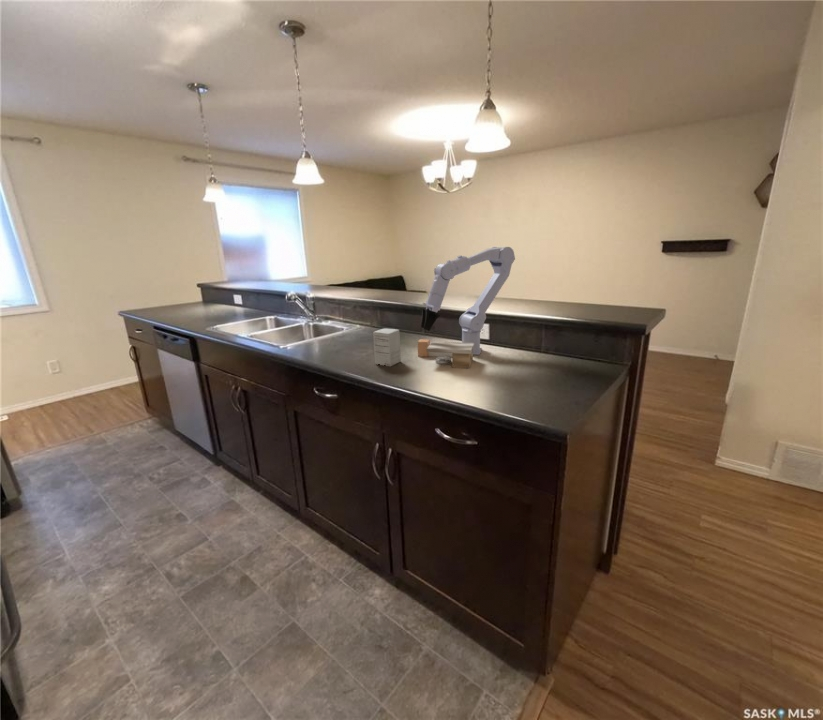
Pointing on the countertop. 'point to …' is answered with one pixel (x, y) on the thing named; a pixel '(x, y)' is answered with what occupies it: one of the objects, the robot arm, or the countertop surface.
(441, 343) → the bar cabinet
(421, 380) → the countertop surface
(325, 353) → the countertop surface
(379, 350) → the grey drawer cabinet
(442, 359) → the disc
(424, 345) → the blade tool
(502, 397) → the countertop surface
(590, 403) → the countertop surface
